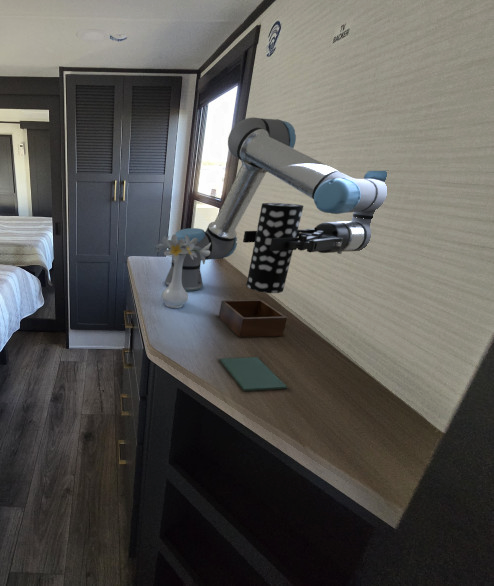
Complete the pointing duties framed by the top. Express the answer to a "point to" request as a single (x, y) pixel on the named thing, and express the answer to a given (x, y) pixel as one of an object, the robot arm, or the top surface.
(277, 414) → the top surface
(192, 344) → the top surface
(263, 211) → the white-spotted black cylinder
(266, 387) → the mat
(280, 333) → the crate
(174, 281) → the flower vase
